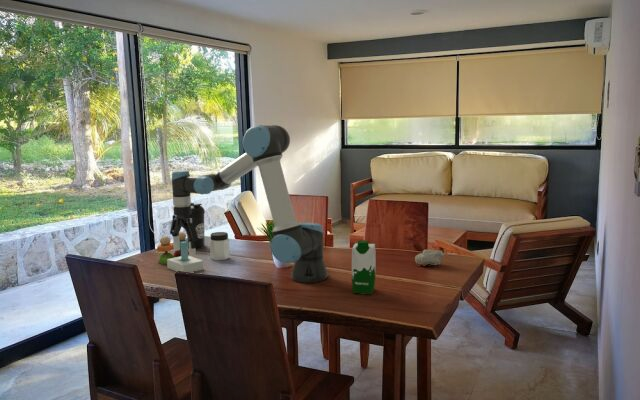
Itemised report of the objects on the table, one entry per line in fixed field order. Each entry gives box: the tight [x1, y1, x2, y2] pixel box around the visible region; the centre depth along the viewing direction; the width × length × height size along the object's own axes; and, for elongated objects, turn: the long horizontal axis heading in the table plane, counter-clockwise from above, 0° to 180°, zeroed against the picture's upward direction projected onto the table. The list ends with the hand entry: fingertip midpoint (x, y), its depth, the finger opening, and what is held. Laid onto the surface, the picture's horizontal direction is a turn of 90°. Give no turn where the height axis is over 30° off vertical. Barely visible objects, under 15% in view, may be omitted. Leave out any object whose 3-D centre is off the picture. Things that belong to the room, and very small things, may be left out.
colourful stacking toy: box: [156, 231, 196, 265], centre depth 246 cm, size 18×17×12 cm
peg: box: [180, 241, 189, 262], centre depth 230 cm, size 3×3×12 cm
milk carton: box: [351, 239, 377, 295], centre depth 196 cm, size 9×9×20 cm
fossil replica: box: [414, 249, 445, 265], centre depth 231 cm, size 12×8×10 cm
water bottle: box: [186, 202, 206, 250], centre depth 269 cm, size 10×10×23 cm
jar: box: [209, 231, 230, 261], centre depth 247 cm, size 9×8×12 cm
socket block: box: [166, 256, 205, 273], centre depth 231 cm, size 14×10×4 cm
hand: (184, 253), depth 230 cm, fingers open, 13 cm apart
